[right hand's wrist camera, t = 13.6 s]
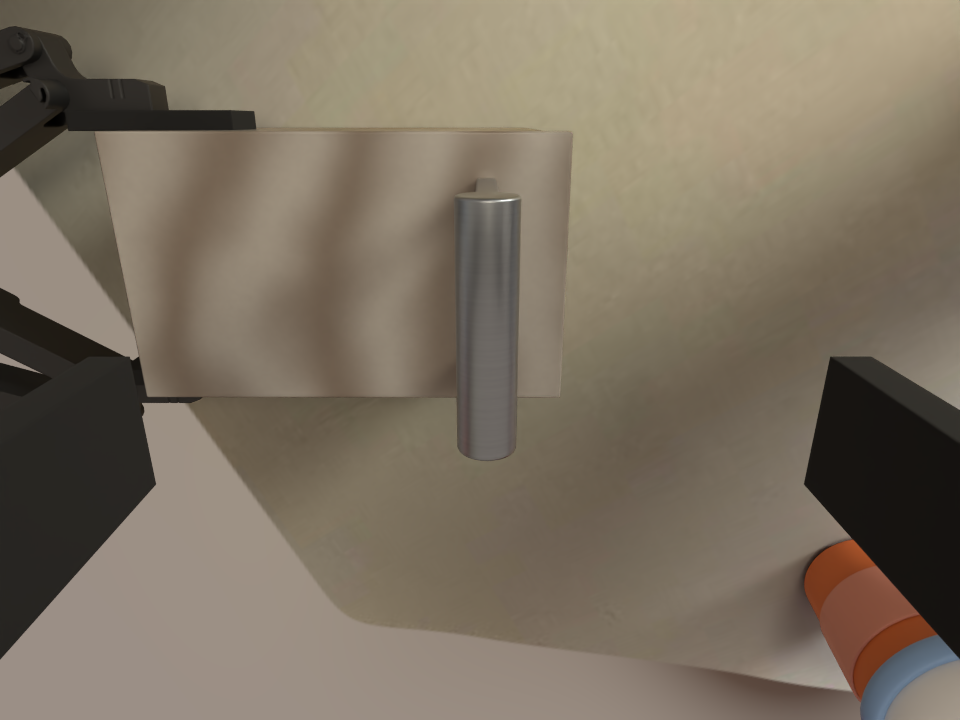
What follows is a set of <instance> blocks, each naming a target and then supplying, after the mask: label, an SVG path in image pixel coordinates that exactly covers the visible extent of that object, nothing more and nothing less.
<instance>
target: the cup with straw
mask: <svg viewBox="0 0 960 720" xmlns="http://www.w3.org/2000/svg"><path fill="white" fill-rule="evenodd" d="M804 588H805V593H806V596H807V598H808V600H809V602H810V604H811V606H812V608H813V610H814V612H815V613H816V615H817V617H818V619H819V621H820V627H821V631H822V633H823V635H824V637H825V639H826V641H827V643H828V645H829V647H830V649H831V651H832V653H833V655H834V656H835V658H836V660H837V662H838V664H839V666H840V668H841V670H842V672H843V674H844V676H845V678H846V680H847V681H848V683H849V685H850V687H851V689H852V691H853V693H854V695H855V696H856V698H857V699H858V700H859V701H860V702H861V707H860V714H861V720H960V659H959V658H958V657H957V656H956V655H955V653H954V652H953V651H952V650H951V649H950V648H949V647H948V646H947V644H946V643H945V642H944V641H943V640H942V639H941V638H940V637H939V636H938V634H937V633H936V632H935V631H934V630H933V629H932V628H931V627H930V625H929V624H928V623H927V622H926V621H925V620H924V619H923V618H922V616H921V615H920V614H919V613H918V612H917V611H916V610H915V609H914V607H913V606H912V605H911V604H910V603H909V602H908V601H907V600H906V598H905V597H904V596H903V595H902V594H901V593H900V592H899V591H898V589H897V588H896V587H895V586H894V585H893V584H892V583H891V582H890V580H889V579H888V578H887V577H886V576H885V575H884V574H883V573H882V571H881V570H880V569H879V568H878V567H877V566H876V565H875V564H874V562H873V561H872V560H871V559H870V558H869V557H868V556H867V555H866V553H865V552H864V551H863V550H862V549H861V548H860V547H859V546H858V544H857V543H856V542H855V541H854V540H848V541H844V542H841V543H838V544H835V545H833V546H831V547H829V548H828V549H826V550H824V551H823V552H822V553H821V554H819V555H818V556H817V557H816V558H815V559H814V561H813V562H812V563H811V565H810V566H809V568H808V570H807V572H806V575H805V580H804Z"/></svg>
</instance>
